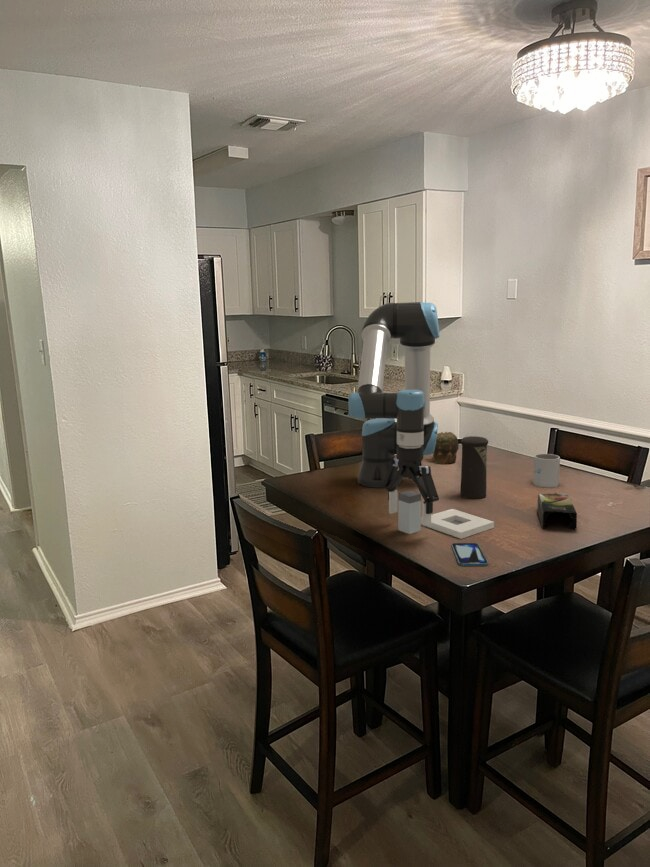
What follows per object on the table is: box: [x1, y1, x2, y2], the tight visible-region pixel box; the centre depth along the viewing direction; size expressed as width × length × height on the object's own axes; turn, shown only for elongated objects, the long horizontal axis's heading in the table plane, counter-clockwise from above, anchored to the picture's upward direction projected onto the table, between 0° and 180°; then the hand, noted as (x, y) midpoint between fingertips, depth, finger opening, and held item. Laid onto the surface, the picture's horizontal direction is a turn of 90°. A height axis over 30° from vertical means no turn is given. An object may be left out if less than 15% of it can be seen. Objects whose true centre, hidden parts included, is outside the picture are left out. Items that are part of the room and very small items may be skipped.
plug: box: [397, 489, 422, 535], centre depth 188 cm, size 4×4×11 cm
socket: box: [421, 508, 495, 540], centre depth 192 cm, size 16×14×2 cm
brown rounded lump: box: [432, 431, 459, 465], centre depth 267 cm, size 11×11×12 cm
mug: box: [532, 453, 561, 488], centre depth 234 cm, size 12×9×10 cm
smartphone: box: [451, 542, 489, 567], centre depth 170 cm, size 7×1×15 cm
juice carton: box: [536, 492, 578, 530], centre depth 196 cm, size 20×10×6 cm, turn 167°
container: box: [459, 435, 489, 500], centre depth 219 cm, size 9×9×20 cm
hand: (409, 518), depth 188 cm, fingers open, 13 cm apart
